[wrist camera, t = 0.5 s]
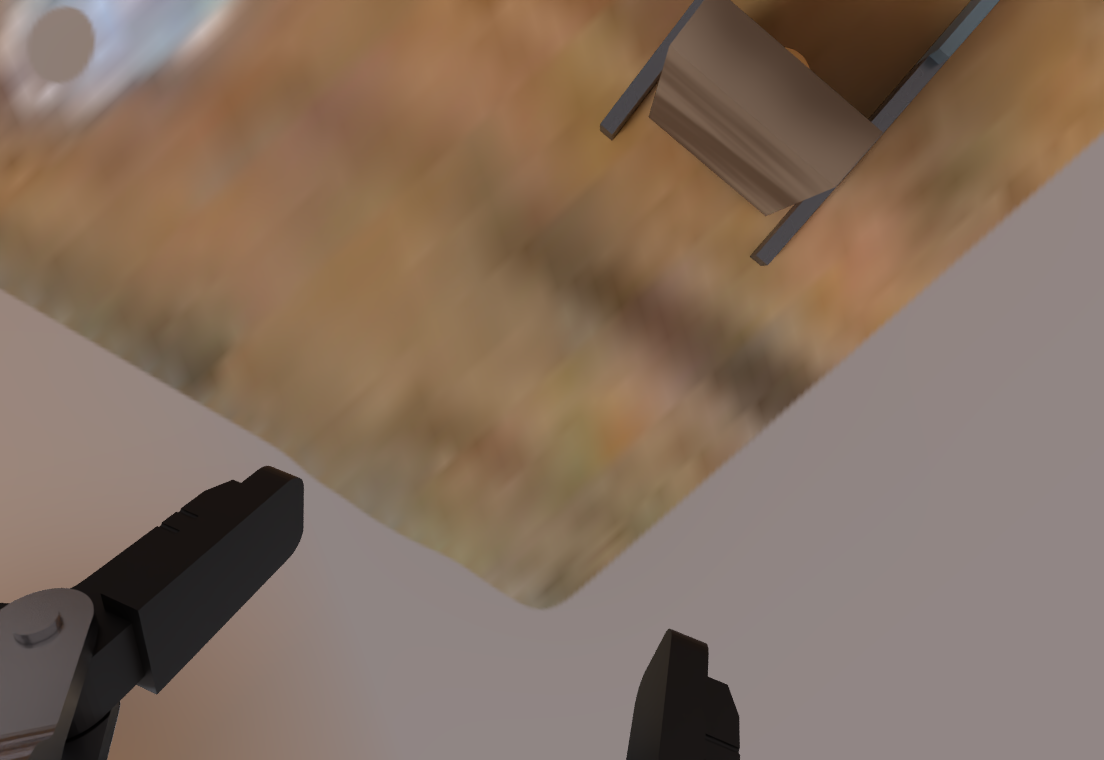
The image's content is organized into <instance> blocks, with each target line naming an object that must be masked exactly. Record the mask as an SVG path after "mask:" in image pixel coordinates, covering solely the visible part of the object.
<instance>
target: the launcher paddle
mask: <svg viewBox="0 0 1104 760" xmlns="http://www.w3.org/2000/svg"><path fill="white" fill-rule="evenodd" d="M649 118H650V119H651V120H653V121H654V122H655V123H656V124H657V125H659V126H660V127H661V128H662V129H663V130H664V131H666V132H667V133H668V134H669V135H670V136H672V137H673V138H674V139H675V140H676V141H678V142H679V143H680V144H681V145H682V146H683V147H685V148H686V149H687V150H688V151H689V152H691V153H692V154H693V155H694V156H695V157H696V158H698V159H699V160H700V161H701V162H702V163H704V164H705V165H706V166H707V167H708V168H709V169H711V170H712V171H713V172H714V173H715V174H717V175H718V176H719V177H720V178H721V179H722V180H724V181H725V182H726V183H727V184H728V185H730V186H731V187H732V188H733V189H734V190H735V191H737V192H738V193H739V194H740V195H741V196H743V197H744V198H745V199H746V200H747V201H748V202H750V203H751V204H752V205H753V206H754V207H756V208H757V209H758V210H759V211H760V212H761V213H763V214H764V215H765V216H767V215H769V214H772V213H774V212H777V211H779V210H781V209H784V208H786V207H789V206H791V205H794V204H796V203H798V202H801V201H803V200H806V199H808V198H810V197H813V196H815V195H818V194H820V193H822V192H825V191H827V190H830V189H832V188H835V187H836V186H837V185H838V184H839V183H840V181H841V180H842V179H843V178H844V177H845V176H846V175H847V173H848V172H849V171H850V170H851V169H852V168H853V167H854V165H855V164H856V163H857V162H858V161H859V160H860V159H861V157H862V156H863V155H864V154H865V153H866V152H867V151H868V149H869V148H870V147H871V146H872V145H873V144H874V143H875V141H876V140H877V139H878V138H879V137H880V136H881V135H882V133H883V132H882V131H881V130H880V129H879V128H877V127H876V126H875V125H874V124H873V123H872V122H870V121H869V120H868V119H867V118H866V117H865V116H863V115H862V114H861V113H860V112H859V111H858V110H857V109H855V108H854V107H853V106H852V105H851V104H850V103H848V102H847V101H846V100H845V99H844V98H843V97H841V96H840V95H839V94H838V93H837V92H836V91H835V90H833V89H832V88H831V87H830V86H829V85H828V84H826V83H825V82H824V81H823V80H822V79H821V78H819V77H818V76H817V75H816V74H815V73H814V72H813V71H811V70H810V69H809V68H808V67H807V66H806V65H804V64H803V63H802V62H801V61H800V60H799V59H797V58H796V57H795V56H794V55H793V54H792V53H791V52H789V51H788V50H787V49H786V48H785V47H784V46H782V45H781V44H780V43H779V42H778V41H777V40H775V39H774V38H773V37H772V36H771V35H770V34H769V33H767V32H766V31H765V30H764V29H763V28H762V27H760V26H759V25H758V24H757V23H756V22H755V21H753V20H752V19H751V18H750V17H749V16H748V15H747V14H745V13H744V12H743V11H742V10H741V9H740V8H738V7H737V6H736V5H735V4H734V3H733V2H731V1H730V0H704V1H703V2H702V4H701V5H700V6H699V8H698V9H697V10H696V11H695V13H694V14H693V15H692V17H691V18H690V19H689V21H688V22H687V23H686V25H685V26H684V27H683V28H682V30H681V31H680V32H679V34H678V35H677V36H676V38H675V39H674V40H673V42H672V43H671V44H670V46H669V49H668V52H667V56H666V59H665V63H664V66H663V70H662V73H661V76H660V80H659V83H658V87H657V90H656V94H655V97H654V100H653V104H652V107H651V111H650V114H649Z"/></svg>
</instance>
